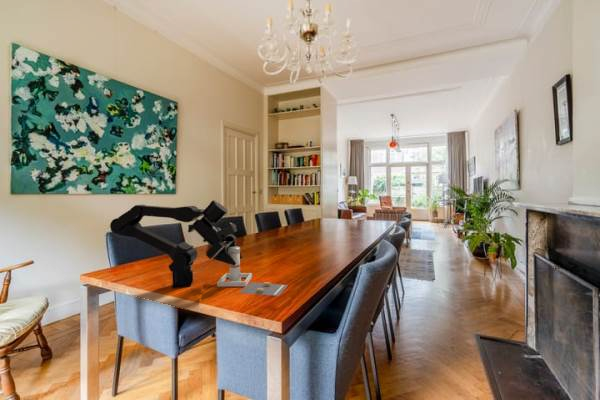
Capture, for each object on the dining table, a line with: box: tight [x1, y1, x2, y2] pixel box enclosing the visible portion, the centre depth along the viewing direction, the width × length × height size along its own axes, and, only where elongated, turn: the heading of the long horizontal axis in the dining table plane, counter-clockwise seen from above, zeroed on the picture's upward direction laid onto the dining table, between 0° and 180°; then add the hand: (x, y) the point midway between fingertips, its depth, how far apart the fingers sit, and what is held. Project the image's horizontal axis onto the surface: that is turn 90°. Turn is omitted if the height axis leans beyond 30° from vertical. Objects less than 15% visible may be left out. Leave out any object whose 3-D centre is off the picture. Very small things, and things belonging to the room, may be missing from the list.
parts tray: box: [216, 272, 253, 287], centre depth 101 cm, size 10×10×2 cm
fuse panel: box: [238, 281, 288, 297], centre depth 93 cm, size 14×10×2 cm
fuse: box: [228, 246, 242, 281], centre depth 101 cm, size 4×4×13 cm
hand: (238, 261), depth 101 cm, fingers open, 9 cm apart
